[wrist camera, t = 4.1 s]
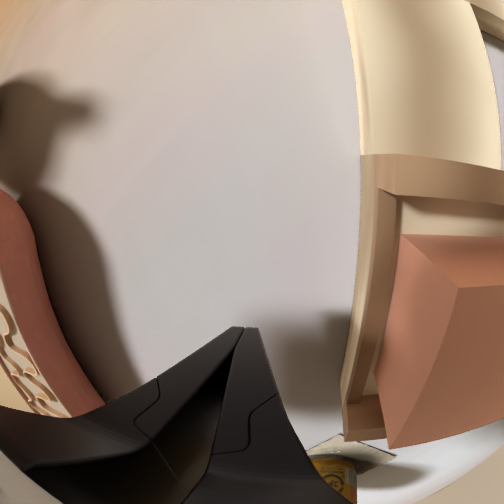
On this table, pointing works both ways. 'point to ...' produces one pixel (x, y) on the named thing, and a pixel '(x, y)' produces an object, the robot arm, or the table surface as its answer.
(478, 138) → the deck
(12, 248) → the anatomical model
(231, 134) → the table surface
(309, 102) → the table surface
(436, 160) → the cubby
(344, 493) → the condiment
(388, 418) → the coral block
